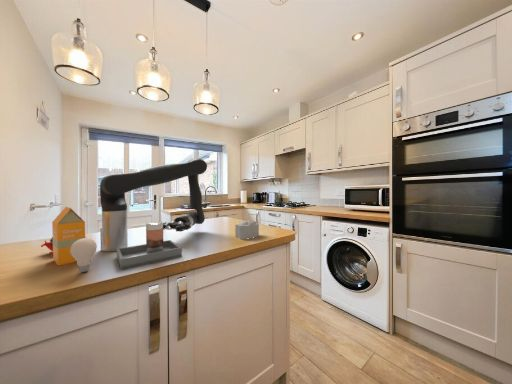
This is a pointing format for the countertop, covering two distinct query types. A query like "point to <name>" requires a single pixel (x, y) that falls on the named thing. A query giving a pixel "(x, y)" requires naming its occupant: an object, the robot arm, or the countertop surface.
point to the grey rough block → (246, 229)
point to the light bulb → (83, 253)
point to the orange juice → (66, 235)
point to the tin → (154, 237)
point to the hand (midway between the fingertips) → (167, 229)
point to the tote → (139, 255)
